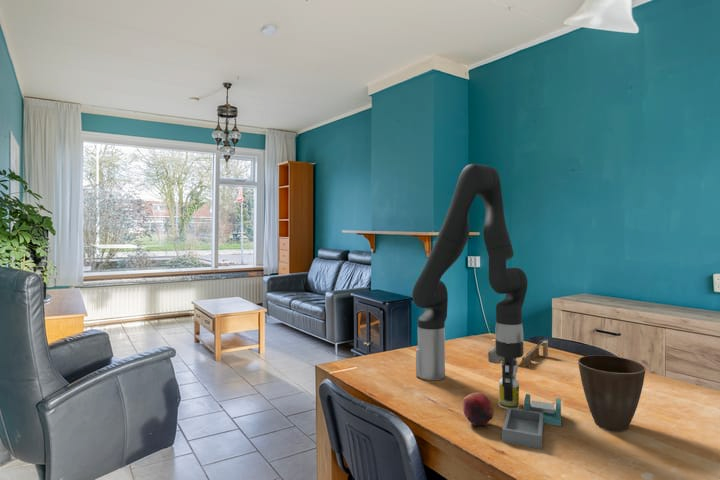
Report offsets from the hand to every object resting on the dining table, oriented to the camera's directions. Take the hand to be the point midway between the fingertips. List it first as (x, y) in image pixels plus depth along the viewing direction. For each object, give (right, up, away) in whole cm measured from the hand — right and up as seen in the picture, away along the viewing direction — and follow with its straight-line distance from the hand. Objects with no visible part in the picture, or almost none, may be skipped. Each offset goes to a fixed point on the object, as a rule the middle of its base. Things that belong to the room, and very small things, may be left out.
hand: (510, 395), depth 123 cm
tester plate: (+6, -1, -7) cm, 10 cm away
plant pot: (+22, -4, -12) cm, 25 cm away
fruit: (-12, -4, -11) cm, 16 cm away
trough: (-2, -4, -15) cm, 16 cm away
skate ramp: (+22, -3, +42) cm, 47 cm away
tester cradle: (+6, -4, -7) cm, 10 cm away
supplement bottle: (0, -4, 0) cm, 4 cm away
